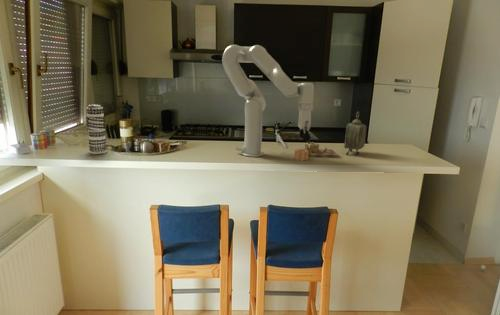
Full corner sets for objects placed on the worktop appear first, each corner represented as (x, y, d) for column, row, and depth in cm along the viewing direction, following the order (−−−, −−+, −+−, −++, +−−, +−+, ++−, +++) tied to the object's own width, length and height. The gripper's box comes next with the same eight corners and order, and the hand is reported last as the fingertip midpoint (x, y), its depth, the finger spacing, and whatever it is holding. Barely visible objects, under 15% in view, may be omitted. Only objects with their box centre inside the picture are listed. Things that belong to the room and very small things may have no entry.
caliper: (276, 141, 221) (276, 132, 220) (277, 141, 221) (278, 132, 220) (285, 148, 202) (285, 138, 200) (286, 148, 202) (287, 138, 200)
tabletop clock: (348, 150, 201) (353, 109, 195) (363, 152, 197) (369, 111, 191) (343, 155, 189) (347, 111, 183) (359, 157, 185) (364, 113, 179)
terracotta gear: (295, 160, 174) (296, 151, 173) (293, 156, 181) (293, 148, 180) (309, 160, 175) (310, 152, 173) (306, 157, 182) (307, 149, 181)
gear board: (303, 156, 182) (304, 142, 180) (298, 151, 195) (299, 137, 193) (338, 157, 183) (340, 142, 181) (331, 151, 196) (333, 138, 194)
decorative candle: (89, 154, 170) (85, 105, 164) (87, 150, 178) (83, 104, 172) (108, 153, 175) (105, 105, 168) (106, 149, 182) (102, 103, 176)
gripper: (295, 105, 179) (294, 136, 183) (301, 108, 162) (300, 142, 167) (309, 105, 180) (307, 136, 184) (316, 108, 163) (314, 142, 167)
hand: (304, 139), depth 175 cm, fingers open, 9 cm apart
